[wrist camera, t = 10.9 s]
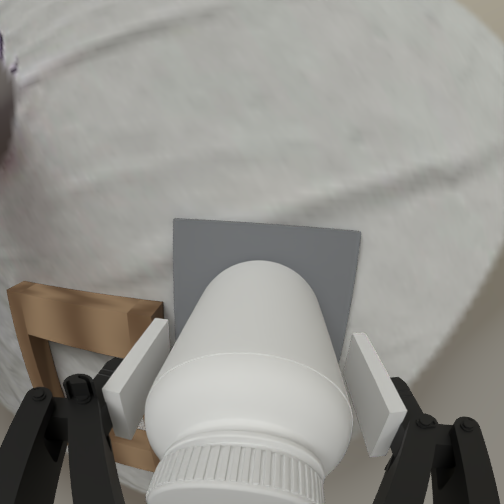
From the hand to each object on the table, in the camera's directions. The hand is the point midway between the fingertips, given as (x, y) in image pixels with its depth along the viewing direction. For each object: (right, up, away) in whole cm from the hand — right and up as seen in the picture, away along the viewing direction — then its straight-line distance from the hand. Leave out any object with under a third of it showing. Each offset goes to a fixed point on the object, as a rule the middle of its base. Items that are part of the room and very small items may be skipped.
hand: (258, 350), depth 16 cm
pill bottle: (0, +1, +5) cm, 5 cm away
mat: (0, +1, +5) cm, 5 cm away
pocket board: (-14, -7, +8) cm, 17 cm away
